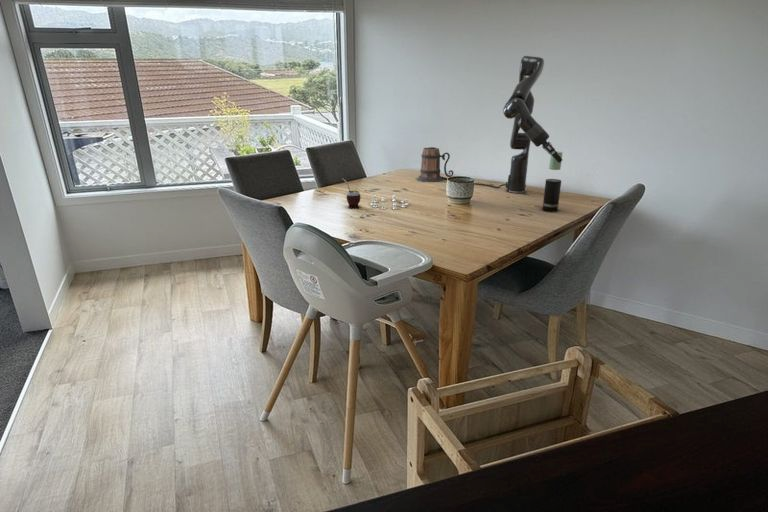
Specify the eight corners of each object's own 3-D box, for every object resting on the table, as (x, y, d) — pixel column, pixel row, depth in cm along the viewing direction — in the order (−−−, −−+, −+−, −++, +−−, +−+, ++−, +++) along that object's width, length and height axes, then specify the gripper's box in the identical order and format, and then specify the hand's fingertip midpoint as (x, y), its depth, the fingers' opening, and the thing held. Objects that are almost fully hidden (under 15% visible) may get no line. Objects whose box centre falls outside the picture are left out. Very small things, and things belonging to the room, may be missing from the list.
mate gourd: (363, 207, 241) (363, 177, 235) (352, 210, 235) (351, 179, 230) (353, 204, 245) (352, 175, 240) (342, 207, 240) (341, 177, 235)
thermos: (539, 210, 235) (543, 180, 230) (545, 207, 241) (548, 178, 236) (554, 212, 231) (558, 182, 226) (559, 209, 237) (563, 179, 231)
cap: (547, 169, 228) (549, 152, 226) (551, 167, 232) (553, 151, 230) (558, 170, 225) (560, 153, 223) (561, 168, 229) (564, 152, 227)
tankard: (414, 180, 304) (414, 149, 297) (420, 176, 319) (421, 146, 312) (450, 183, 297) (452, 151, 290) (455, 178, 312) (456, 147, 305)
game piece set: (384, 198, 259) (384, 191, 258) (415, 203, 248) (415, 196, 247) (362, 205, 244) (362, 198, 243) (394, 211, 233) (394, 203, 232)
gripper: (545, 130, 217) (569, 157, 219) (541, 127, 230) (563, 152, 232) (532, 141, 220) (555, 168, 222) (528, 138, 233) (550, 163, 235)
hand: (559, 160), depth 227 cm, fingers closed on cap, 5 cm apart
